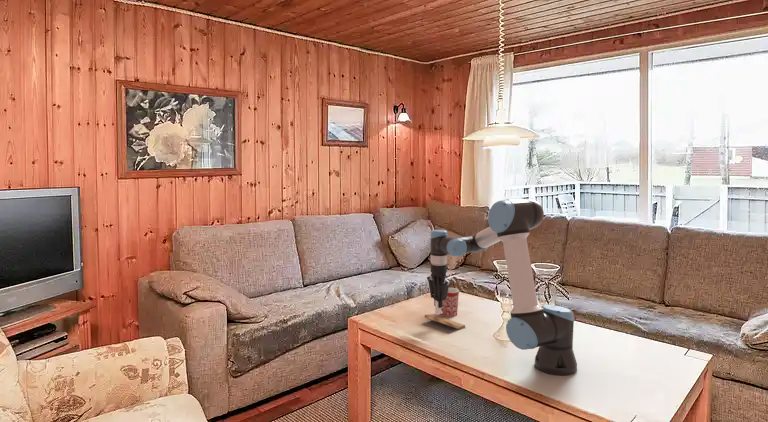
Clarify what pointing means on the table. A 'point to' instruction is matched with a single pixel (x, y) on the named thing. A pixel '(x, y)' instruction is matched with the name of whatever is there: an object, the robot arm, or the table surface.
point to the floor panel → (444, 327)
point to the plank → (442, 322)
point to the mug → (450, 303)
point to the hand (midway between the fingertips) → (438, 313)
